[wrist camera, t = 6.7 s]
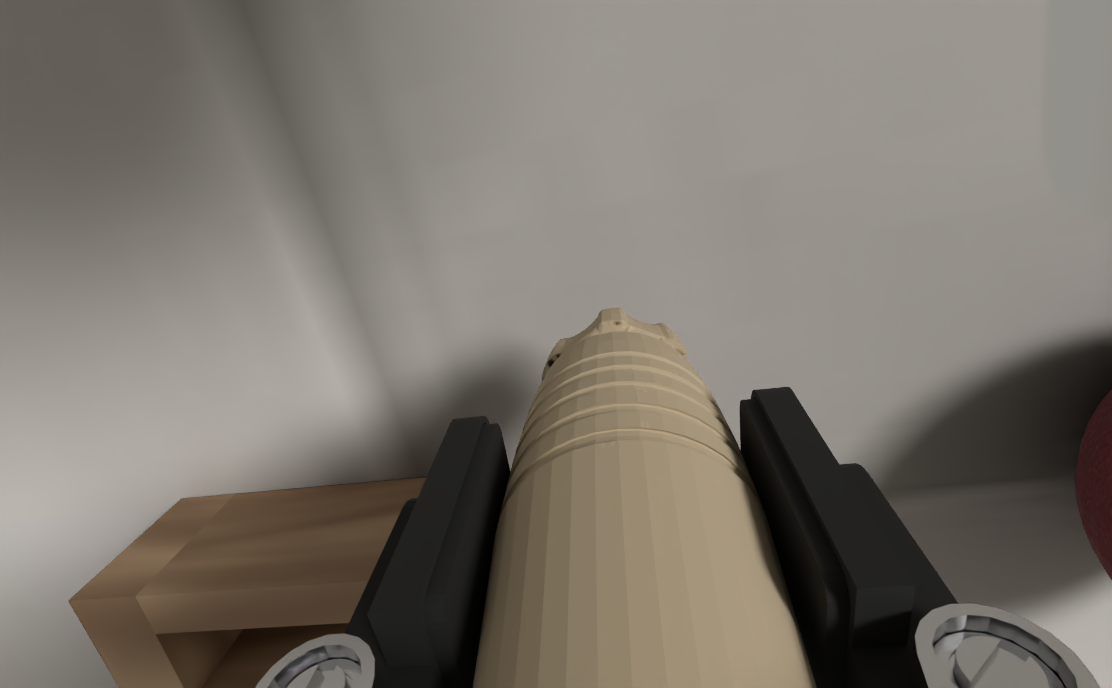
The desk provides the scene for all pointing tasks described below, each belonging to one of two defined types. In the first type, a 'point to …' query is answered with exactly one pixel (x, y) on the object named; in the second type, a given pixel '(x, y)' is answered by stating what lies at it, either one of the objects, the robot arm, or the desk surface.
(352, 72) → the desk surface
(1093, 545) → the decorative ball
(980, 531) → the desk surface
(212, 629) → the wooden shelf
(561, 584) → the handle
